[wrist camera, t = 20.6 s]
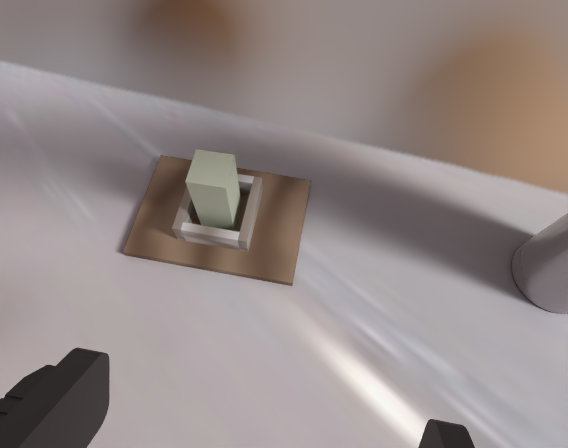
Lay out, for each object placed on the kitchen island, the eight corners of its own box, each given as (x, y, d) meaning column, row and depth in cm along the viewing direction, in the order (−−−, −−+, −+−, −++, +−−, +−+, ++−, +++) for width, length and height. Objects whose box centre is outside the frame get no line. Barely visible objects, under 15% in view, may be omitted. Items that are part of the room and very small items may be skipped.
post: (241, 203, 48) (234, 154, 39) (234, 231, 47) (225, 187, 38) (210, 198, 49) (195, 149, 40) (201, 226, 47) (185, 181, 38)
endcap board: (310, 184, 51) (313, 167, 48) (292, 285, 45) (293, 274, 41) (162, 159, 52) (154, 140, 49) (125, 255, 46) (113, 241, 42)
